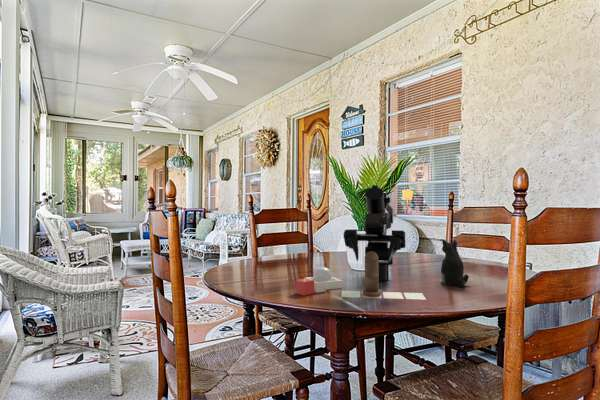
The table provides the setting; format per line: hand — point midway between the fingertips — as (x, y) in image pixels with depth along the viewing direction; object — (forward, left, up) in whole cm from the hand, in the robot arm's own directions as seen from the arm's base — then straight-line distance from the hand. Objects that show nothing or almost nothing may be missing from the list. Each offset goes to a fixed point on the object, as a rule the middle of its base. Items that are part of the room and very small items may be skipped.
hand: (372, 260), depth 114 cm
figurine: (-32, 0, -10) cm, 34 cm away
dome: (+10, -13, -9) cm, 19 cm away
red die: (+18, -9, -10) cm, 23 cm away
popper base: (+10, -13, -10) cm, 20 cm away
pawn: (+2, +2, -9) cm, 10 cm away
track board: (-1, +4, -10) cm, 11 cm away
